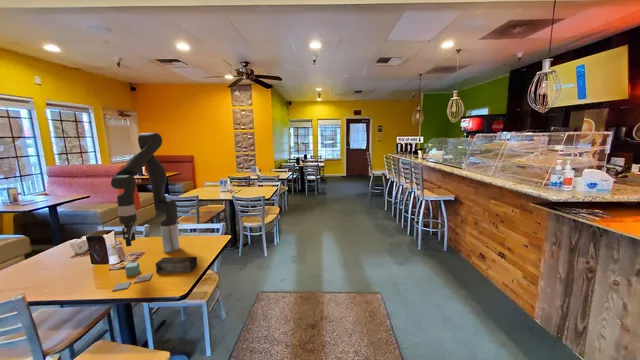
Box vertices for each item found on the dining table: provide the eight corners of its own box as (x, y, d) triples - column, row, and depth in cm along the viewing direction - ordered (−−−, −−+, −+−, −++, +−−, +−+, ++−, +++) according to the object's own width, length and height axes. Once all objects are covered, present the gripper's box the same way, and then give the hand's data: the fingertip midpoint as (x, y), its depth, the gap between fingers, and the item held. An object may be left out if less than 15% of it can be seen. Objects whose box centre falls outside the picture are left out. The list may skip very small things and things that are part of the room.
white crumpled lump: (80, 256, 168) (78, 242, 167) (64, 255, 170) (62, 241, 169) (98, 248, 179) (96, 235, 178) (83, 248, 181) (80, 235, 180)
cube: (129, 272, 146) (127, 263, 146) (139, 270, 148) (138, 261, 147) (126, 276, 142) (125, 267, 141) (137, 274, 143) (136, 265, 143)
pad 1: (116, 285, 133) (116, 283, 133) (130, 282, 135) (130, 281, 135) (112, 291, 128) (112, 290, 128) (127, 288, 130) (127, 287, 130)
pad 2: (137, 276, 141) (137, 275, 141) (152, 274, 143) (152, 273, 143) (133, 283, 134) (133, 282, 134) (149, 280, 137) (149, 279, 137)
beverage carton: (164, 266, 152) (163, 255, 151) (198, 266, 152) (197, 255, 151) (155, 273, 144) (154, 262, 143) (191, 273, 144) (190, 261, 143)
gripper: (122, 211, 145) (126, 240, 147) (114, 217, 132) (118, 249, 134) (139, 209, 148) (142, 237, 150) (132, 216, 135) (136, 246, 137)
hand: (131, 243), depth 142 cm, fingers open, 8 cm apart
